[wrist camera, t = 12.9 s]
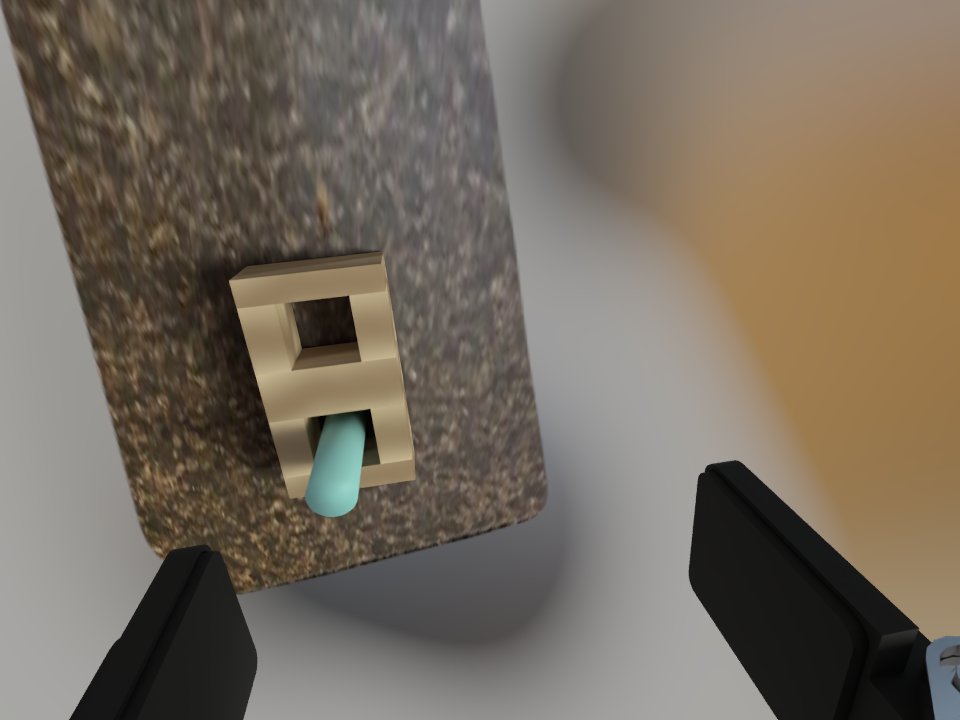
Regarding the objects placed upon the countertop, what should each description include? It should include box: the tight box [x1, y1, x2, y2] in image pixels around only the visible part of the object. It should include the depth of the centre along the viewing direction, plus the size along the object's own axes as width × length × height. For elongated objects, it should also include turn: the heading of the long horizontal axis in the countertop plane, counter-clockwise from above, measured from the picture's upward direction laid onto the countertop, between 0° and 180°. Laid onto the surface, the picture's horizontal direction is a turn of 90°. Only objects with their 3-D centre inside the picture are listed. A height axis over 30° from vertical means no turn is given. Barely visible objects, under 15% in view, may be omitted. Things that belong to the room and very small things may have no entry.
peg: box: [305, 409, 368, 517], centre depth 35 cm, size 3×3×10 cm
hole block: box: [229, 251, 415, 499], centre depth 36 cm, size 16×9×4 cm, turn 5°
